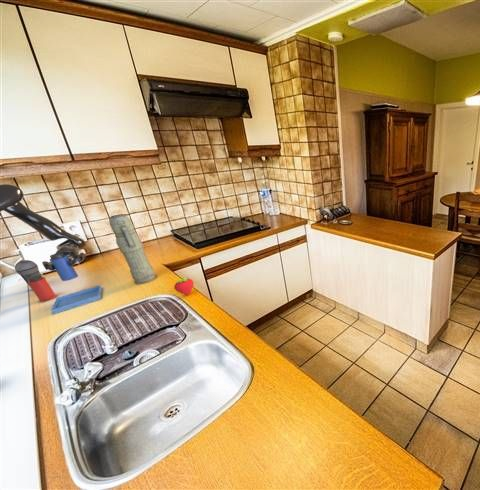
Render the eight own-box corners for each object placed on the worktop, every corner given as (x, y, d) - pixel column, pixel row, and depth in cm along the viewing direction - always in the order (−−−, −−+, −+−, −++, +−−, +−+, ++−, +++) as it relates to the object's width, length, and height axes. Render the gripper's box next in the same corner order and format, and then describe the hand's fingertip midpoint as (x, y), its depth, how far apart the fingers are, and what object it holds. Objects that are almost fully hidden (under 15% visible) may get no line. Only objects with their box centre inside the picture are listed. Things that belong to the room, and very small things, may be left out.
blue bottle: (61, 282, 118) (46, 258, 113) (62, 278, 122) (48, 254, 117) (77, 277, 121) (63, 254, 116) (78, 274, 125) (65, 251, 120)
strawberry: (176, 296, 122) (169, 277, 118) (194, 288, 127) (188, 270, 123) (180, 300, 119) (172, 281, 115) (198, 293, 124) (192, 274, 120)
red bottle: (39, 303, 123) (24, 281, 118) (41, 298, 127) (27, 277, 122) (55, 298, 126) (41, 276, 121) (57, 294, 130) (43, 273, 125)
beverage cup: (25, 290, 135) (2, 255, 127) (45, 283, 142) (24, 249, 134) (32, 292, 133) (8, 256, 125) (52, 285, 139) (31, 250, 131)
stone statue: (140, 286, 133) (109, 219, 119) (131, 280, 139) (100, 216, 125) (160, 278, 139) (133, 214, 125) (150, 273, 145) (124, 211, 131)
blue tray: (53, 314, 115) (51, 310, 114) (58, 301, 124) (56, 297, 123) (100, 299, 123) (98, 295, 123) (102, 288, 133) (100, 285, 132)
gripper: (41, 252, 123) (32, 264, 111) (83, 243, 131) (79, 253, 119) (49, 267, 126) (41, 279, 114) (90, 257, 134) (87, 268, 122)
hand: (61, 266), depth 117 cm, fingers closed on blue bottle, 5 cm apart
